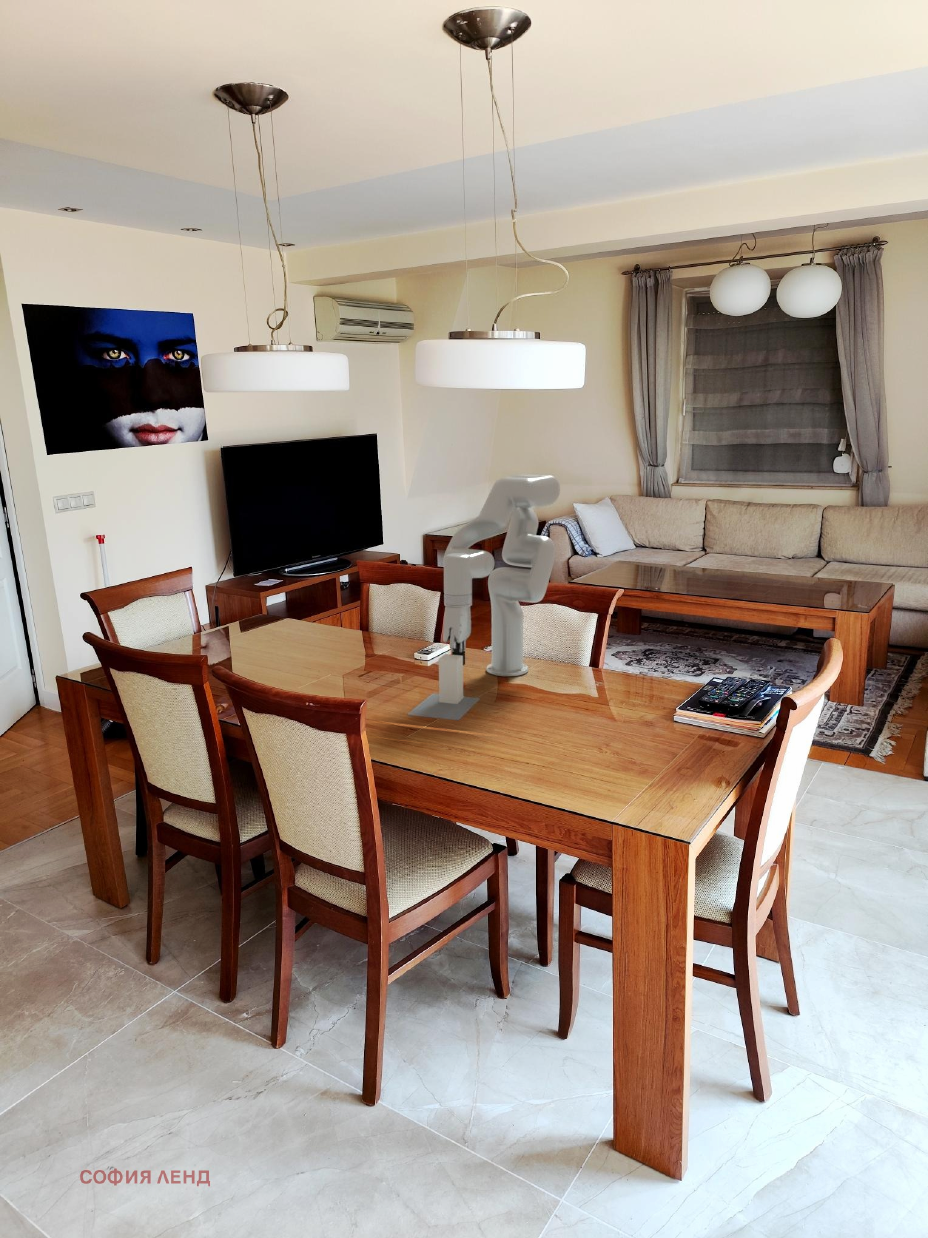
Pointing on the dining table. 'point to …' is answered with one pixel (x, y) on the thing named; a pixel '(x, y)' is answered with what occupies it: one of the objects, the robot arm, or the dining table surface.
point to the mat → (443, 708)
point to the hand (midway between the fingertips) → (458, 665)
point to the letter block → (451, 679)
